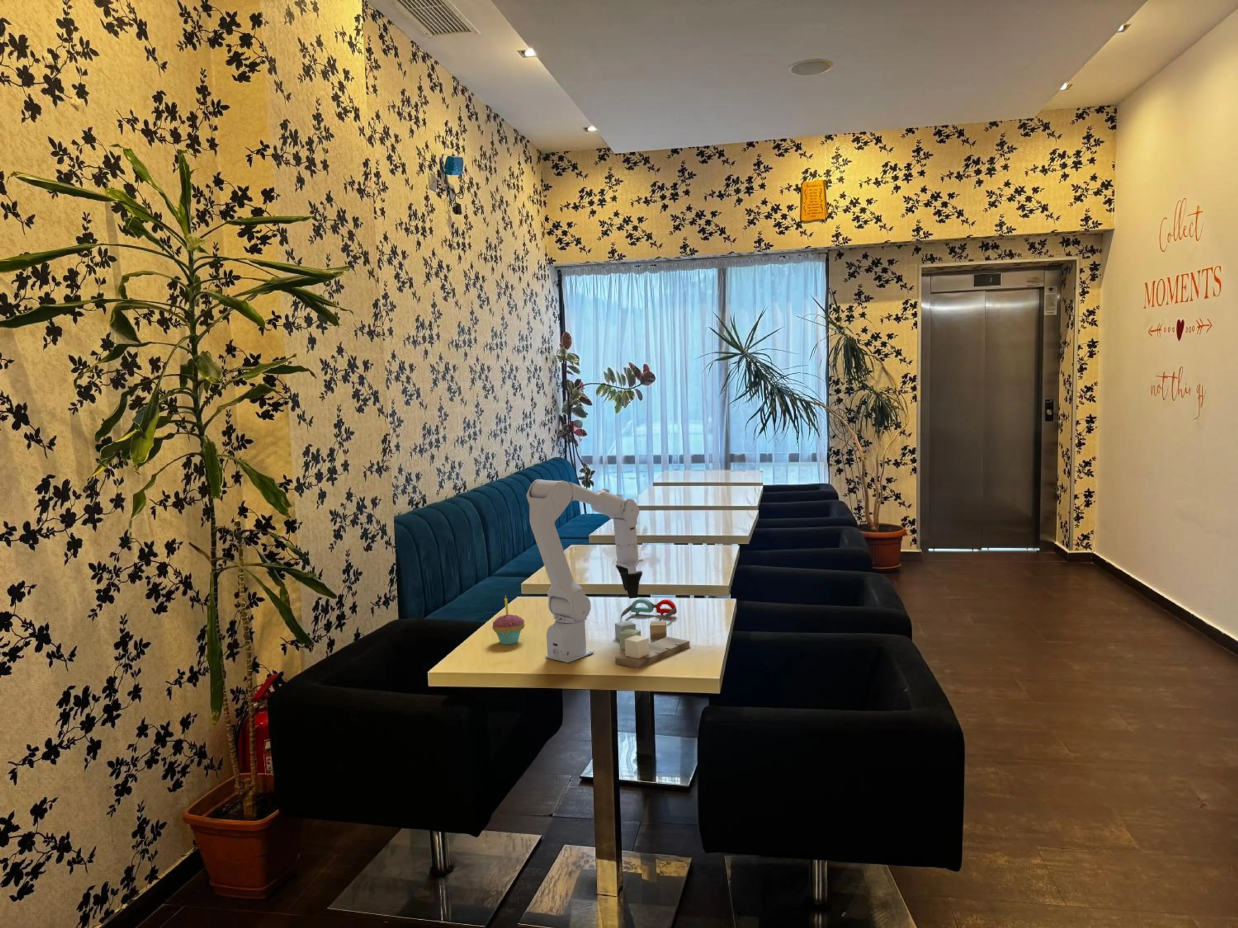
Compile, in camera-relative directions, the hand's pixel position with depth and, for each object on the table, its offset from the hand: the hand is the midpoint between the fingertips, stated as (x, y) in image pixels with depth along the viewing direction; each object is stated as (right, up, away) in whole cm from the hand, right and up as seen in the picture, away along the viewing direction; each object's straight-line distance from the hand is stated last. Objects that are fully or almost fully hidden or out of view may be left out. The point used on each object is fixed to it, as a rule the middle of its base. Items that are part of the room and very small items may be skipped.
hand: (630, 593), depth 223 cm
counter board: (+5, -12, -17) cm, 22 cm away
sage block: (0, -12, -10) cm, 15 cm away
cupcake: (-32, -13, 0) cm, 34 cm away
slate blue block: (-1, -11, -2) cm, 12 cm away
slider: (+1, -11, -22) cm, 24 cm away
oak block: (+7, -11, -3) cm, 13 cm away
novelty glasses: (+5, -10, +14) cm, 18 cm away
